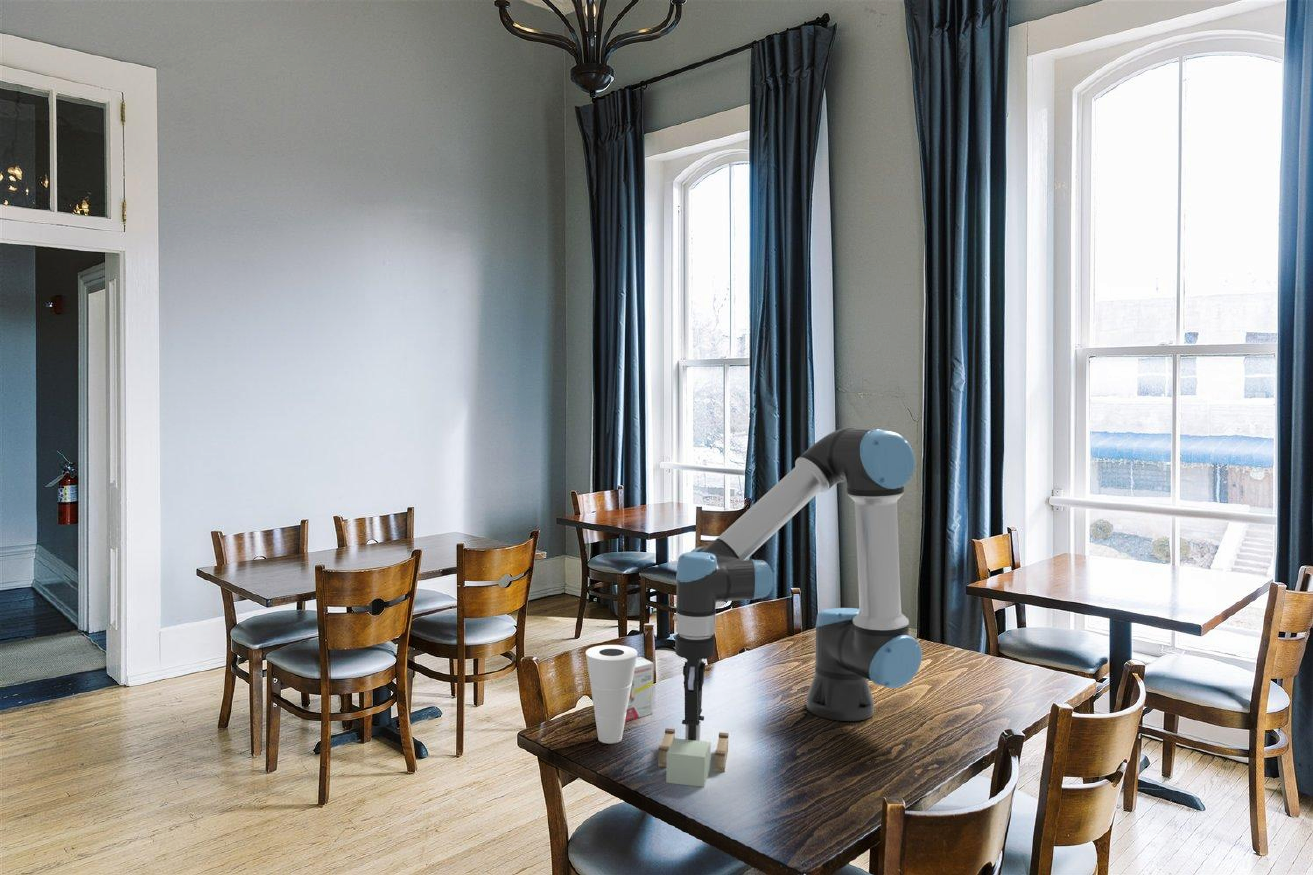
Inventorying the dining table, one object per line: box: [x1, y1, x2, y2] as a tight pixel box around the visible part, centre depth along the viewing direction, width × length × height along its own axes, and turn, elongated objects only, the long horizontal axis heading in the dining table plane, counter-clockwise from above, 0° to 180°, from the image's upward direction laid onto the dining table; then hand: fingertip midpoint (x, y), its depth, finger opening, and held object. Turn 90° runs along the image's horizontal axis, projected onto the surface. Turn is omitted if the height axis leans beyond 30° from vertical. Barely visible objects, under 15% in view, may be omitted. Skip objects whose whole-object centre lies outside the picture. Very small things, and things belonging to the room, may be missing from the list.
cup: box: [585, 644, 639, 745], centre depth 173 cm, size 11×11×18 cm
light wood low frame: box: [657, 727, 729, 773], centre depth 164 cm, size 13×10×4 cm
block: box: [665, 738, 712, 788], centre depth 156 cm, size 7×7×6 cm
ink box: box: [625, 656, 655, 723], centre depth 186 cm, size 9×5×12 cm, turn 130°
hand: (692, 755), depth 162 cm, fingers closed
